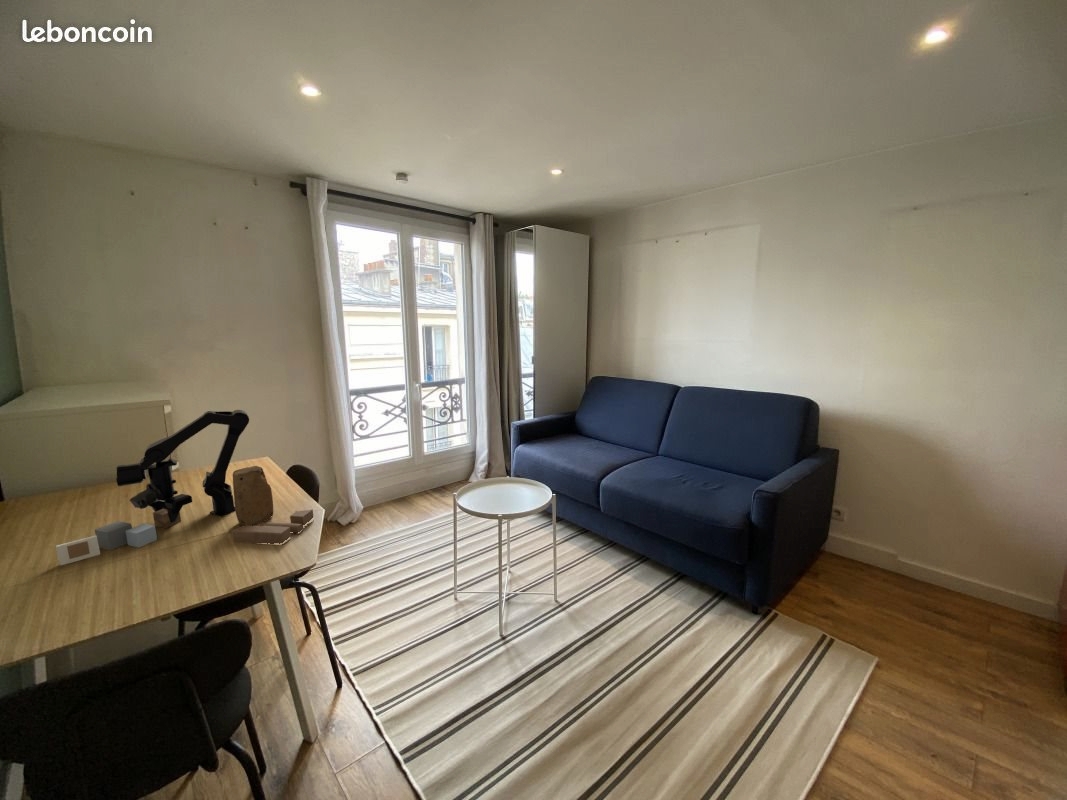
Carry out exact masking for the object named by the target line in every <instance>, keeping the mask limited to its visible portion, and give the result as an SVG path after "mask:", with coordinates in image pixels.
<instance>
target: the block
mask: <svg viewBox="0 0 1067 800" xmlns="http://www.w3.org/2000/svg"><path fill="white" fill-rule="evenodd" d="M232 487H233V489H232V490H233V501H234V507H235V510H234V512H235V516H236V519H237V522H238V525H240V527H243V526H247V525H250V526H251V525H253V526H256V525H258V523H259V524H261V523H263V522H262V521H264V520H266V521H268V520H267V519H269V518H270V517H271V516H272V517H273V516H274V498H273V492H272V487H271V485H270V484H269V483H268V480H267V478H266V475H265V472H264V469H263V467H261V466H258V465H252V466H249V467H247V466H246V467H243V468H238V469H236V470H233V472H232ZM272 517H271V518H272ZM271 518H270V519H271ZM270 519H269V520H270ZM260 522H261V523H260ZM264 522H265V521H264ZM255 524H256V525H255Z"/></svg>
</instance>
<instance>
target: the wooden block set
mask: <svg viewBox="0 0 1067 800" xmlns="http://www.w3.org/2000/svg"><path fill="white" fill-rule="evenodd" d="M313 517H314V510H313V509H307V510H306V509H303V510H298V511H295V512H293V513H292V514H291V515H289V519H290V523H289V522H274V521H273V522H272V521H271V522H270V521H268V522H266V523H265V524H264V525H263V526H262V525H253V526H250V525H247V526H240V527H236V528H234V529H233V530H232V539H233V543H234V542H235V543H246V542H252V543H251V544H256V543H267V544H268V543H270V544H274V543H279V544H280V543H283V542H284V541H285V540H287V539H288V538H289V537H290V536H291V537H292V534H293V533H298V532H300V531H301V530H302V529H303V530H304V528H303V525H305V524H306V523H307V522H309V521H310V520H311V519H312V518H313ZM290 532H293V533H290Z"/></svg>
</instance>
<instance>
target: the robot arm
mask: <svg viewBox="0 0 1067 800" xmlns="http://www.w3.org/2000/svg"><path fill="white" fill-rule="evenodd" d="M249 417H250V416H249V415H248V413H247V412H246V410H245V411H244V410H243V409H234V410H233V411H230V410H229V411H228V410H227V411H226V410H225V411H223V410H222V411H216V410H215V411H213V410H209V411H208V410H207V411H205V412H204V413H203V414H202V415H200V416H199V417H198V418H196V419H195V420H193V421H191V422H190V423H188V424H186V425H185V426H183V427H182V428H180V429H179V430H178V431H175V433H172V434H171V435H169V436H167V437H164V438H161V439H160V440H157V441H155V442H152V443H150V444H149V445H148V446H147V447H146V449H145V452H144V455H143V458H141V459H140V461H139V463H132V464H121V465H117V466H116V478H115V479H116V483H117V486H118V487H124V486H130V485H135V484H142V483H143V482H144V480H147V473H148V478H149V483H146V486H145V487H146V489H144V490H142V491H141V492H139V493H137V494H136V495H134V496H132V497H131V498H130V499H129V501H130V504H132V506H134V508H136V509H137V508H138V509H141V510H142V509H146V508H147V507H150V508H151V509H152V510H153V511H154V512H156V511H159V510H161V509H165V510H167V512H168V515H169V518H170V521H171V523H173V522H175V521H176V519H177V516H178V514H179V512H181V510H182V508H183V507H184V506H186V505H188V504H191V503H193V497H192V495H190V494H184V493H180V494H179V492H178V490H176V489H174V488H175V487H174V486H175V485H174V484H176V483H177V480H176V479H173V475H172V469H171V468H172V467H174V466H177V464H178V461H177V460H175V459H173V458H172V457H169V456H170V455H171V454H172V453H173V452H175V450H176V449H177V448H178V447H179V446H180V445H182V444H184V443H185V442H186V441H187V440H189V439H191V438H193V436H195V435H196V434H198V433H199V432H202V430H204V429H205V428H207V427H209V426H210V425H212V424H216V425H226V426H227V431H226V435H225V438H224V440H223V443H222V445H221V449H220V451H219V454H218V457H217V459H216V462H215V465H214V468H213V469H212V470H211V471H210V472H209V471H206V472H205V477H204V479H203V480H202V488H203V491H204V494H205V495H206V496H209V497H211V503H212V508H213V509H212V510H211V511H209V514H210V515H215V516H225V515H228V514H230V513H231V512H232V513H233V512H235V503H234V494H233V491H232V490H233V489H232V486H231V485H230V484H228V483H226V477H227V471H228V467H229V466H230V462H231V459H232V457H233V454H234V452H235V449H236V446H237V444H238V441H239V438H240V436H241V435H242V434H243V433H244V431H245V429H246V428H247V426H248V424H249V423H250V418H249ZM167 458H168V459H167ZM166 459H167V460H166Z"/></svg>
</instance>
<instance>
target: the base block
mask: <svg viewBox="0 0 1067 800" xmlns="http://www.w3.org/2000/svg"><path fill="white" fill-rule="evenodd" d="M132 528H133V526H132V523H130V522H127V521H126V522H124V521H121V520H118V521H115V522H111V523H109V524H106V525H104V526H101V527H97V528H95V529H94V533H95V534H94V536H96V535H97V540H98V545H99V548H102V549H106V550H109V551H112V550H114V549H117V548H119V547H122V546H124V545H126V544H127V545H128V543H127V537H126V532H125V531H126V530H129V529H132Z"/></svg>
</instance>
